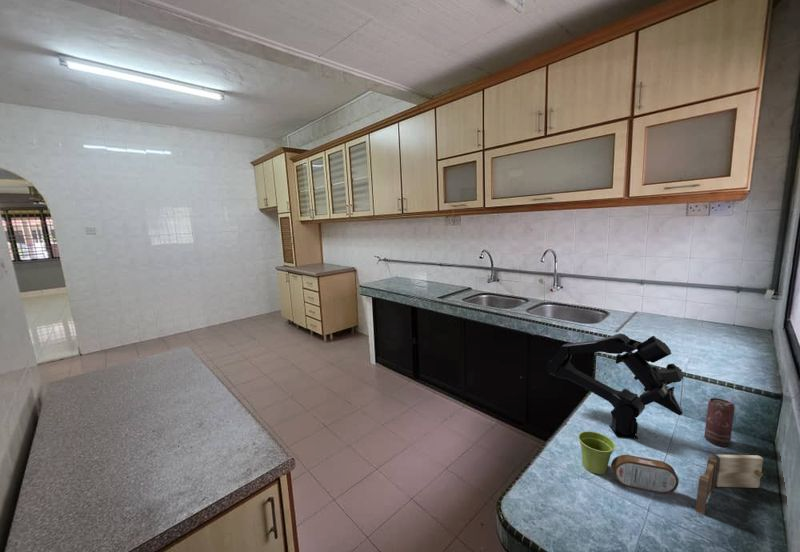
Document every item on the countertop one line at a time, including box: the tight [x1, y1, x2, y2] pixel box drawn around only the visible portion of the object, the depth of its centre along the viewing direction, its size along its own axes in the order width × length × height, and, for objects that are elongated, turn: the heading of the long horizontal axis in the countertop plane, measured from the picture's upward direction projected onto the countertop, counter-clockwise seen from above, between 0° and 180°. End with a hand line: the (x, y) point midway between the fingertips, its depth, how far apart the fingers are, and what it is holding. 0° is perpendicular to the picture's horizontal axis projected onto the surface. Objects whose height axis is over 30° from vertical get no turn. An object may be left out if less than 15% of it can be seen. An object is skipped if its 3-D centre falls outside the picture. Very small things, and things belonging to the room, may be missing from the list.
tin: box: [610, 454, 680, 494], centre depth 89 cm, size 15×3×8 cm, turn 71°
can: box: [703, 397, 736, 448], centre depth 107 cm, size 6×6×14 cm
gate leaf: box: [708, 452, 764, 489], centre depth 88 cm, size 13×3×9 cm, turn 87°
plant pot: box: [577, 430, 616, 475], centre depth 97 cm, size 9×9×9 cm
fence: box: [695, 456, 717, 515], centre depth 84 cm, size 12×2×9 cm, turn 129°
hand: (681, 414), depth 100 cm, fingers closed
